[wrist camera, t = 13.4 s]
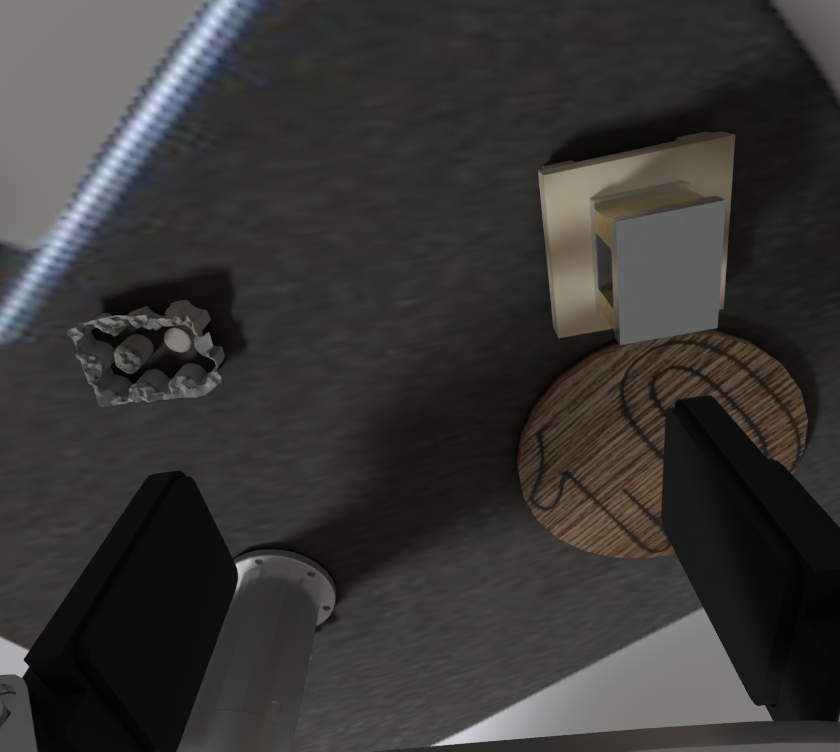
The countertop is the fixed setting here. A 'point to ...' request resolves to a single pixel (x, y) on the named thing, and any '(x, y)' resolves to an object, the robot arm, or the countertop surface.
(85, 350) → the egg carton
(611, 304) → the block
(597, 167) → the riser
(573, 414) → the trivet
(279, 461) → the countertop surface
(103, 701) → the robot arm
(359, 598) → the countertop surface
